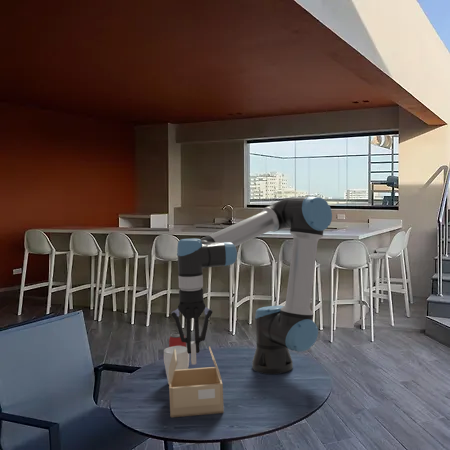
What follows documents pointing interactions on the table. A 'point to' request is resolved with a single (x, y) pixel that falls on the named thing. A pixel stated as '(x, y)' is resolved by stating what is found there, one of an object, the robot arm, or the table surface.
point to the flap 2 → (215, 362)
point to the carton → (196, 392)
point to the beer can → (176, 340)
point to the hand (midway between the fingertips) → (193, 362)
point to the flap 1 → (172, 366)
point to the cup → (181, 358)
